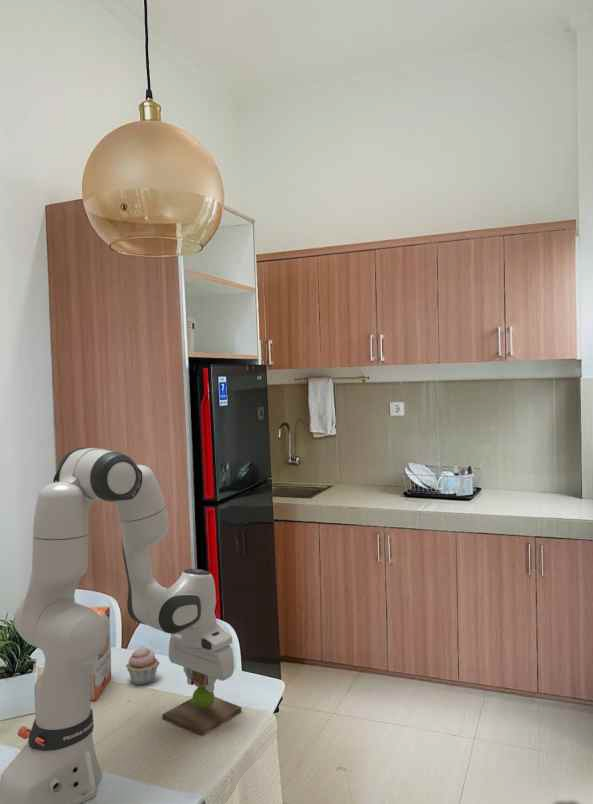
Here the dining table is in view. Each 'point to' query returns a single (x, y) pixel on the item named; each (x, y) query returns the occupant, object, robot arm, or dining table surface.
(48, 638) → the robot arm
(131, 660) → the cupcake
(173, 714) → the walnut board
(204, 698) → the snail figurine
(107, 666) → the cracker box
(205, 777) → the dining table surface
